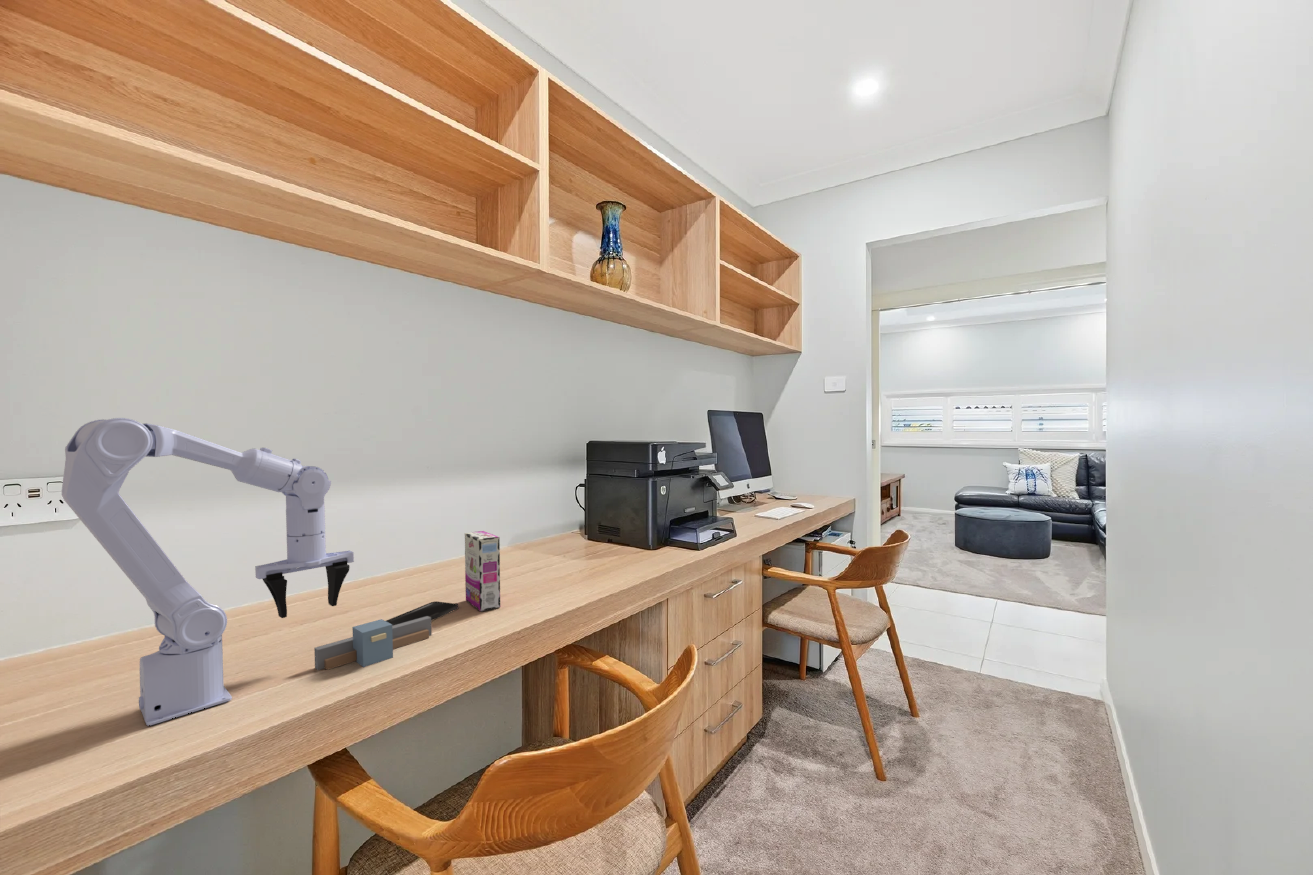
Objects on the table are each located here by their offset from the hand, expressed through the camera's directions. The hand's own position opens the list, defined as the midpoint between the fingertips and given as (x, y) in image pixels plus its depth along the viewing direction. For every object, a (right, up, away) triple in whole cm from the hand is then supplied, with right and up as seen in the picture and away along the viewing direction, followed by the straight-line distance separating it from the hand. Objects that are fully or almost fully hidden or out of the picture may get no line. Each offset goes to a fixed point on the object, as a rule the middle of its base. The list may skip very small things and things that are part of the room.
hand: (308, 610), depth 94 cm
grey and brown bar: (+9, -9, +5) cm, 14 cm away
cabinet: (+11, -9, +2) cm, 14 cm away
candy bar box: (+21, -9, +31) cm, 39 cm away
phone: (+10, -10, +23) cm, 27 cm away
